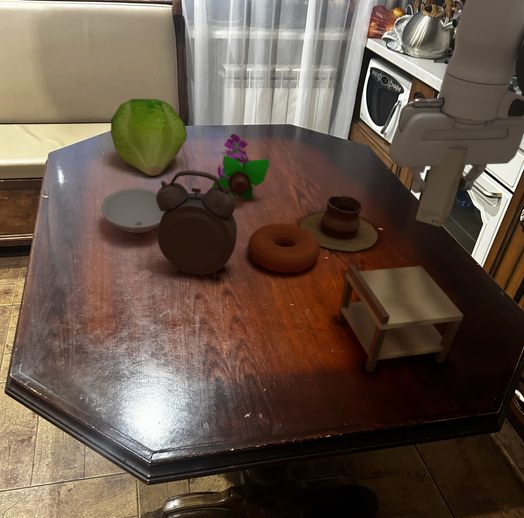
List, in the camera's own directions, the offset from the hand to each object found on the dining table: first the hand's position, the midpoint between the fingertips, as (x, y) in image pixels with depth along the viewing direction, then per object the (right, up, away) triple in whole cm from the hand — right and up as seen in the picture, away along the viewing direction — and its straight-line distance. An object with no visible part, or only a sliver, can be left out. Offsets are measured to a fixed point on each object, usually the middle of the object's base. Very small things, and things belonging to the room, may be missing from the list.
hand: (440, 190), depth 82 cm
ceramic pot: (-11, +1, +35) cm, 36 cm away
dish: (-55, +1, +29) cm, 63 cm away
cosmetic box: (0, -4, +3) cm, 5 cm away
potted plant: (-36, +19, +51) cm, 66 cm away
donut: (-24, -7, +24) cm, 35 cm away
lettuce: (-58, +23, +54) cm, 82 cm away
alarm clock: (-41, -10, +19) cm, 46 cm away
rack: (-7, -24, +7) cm, 26 cm away
